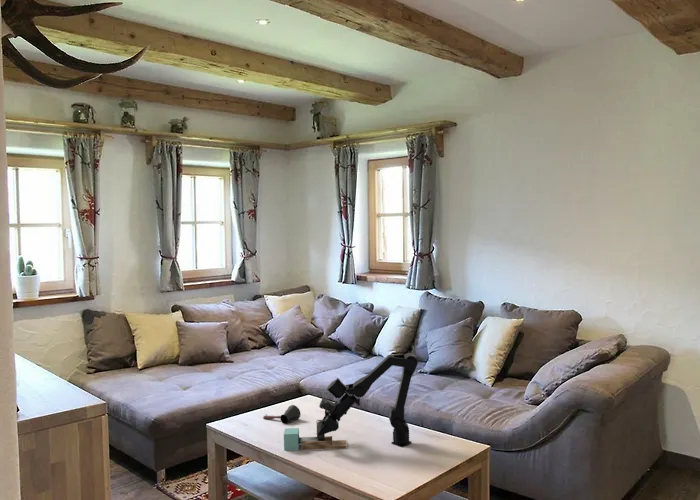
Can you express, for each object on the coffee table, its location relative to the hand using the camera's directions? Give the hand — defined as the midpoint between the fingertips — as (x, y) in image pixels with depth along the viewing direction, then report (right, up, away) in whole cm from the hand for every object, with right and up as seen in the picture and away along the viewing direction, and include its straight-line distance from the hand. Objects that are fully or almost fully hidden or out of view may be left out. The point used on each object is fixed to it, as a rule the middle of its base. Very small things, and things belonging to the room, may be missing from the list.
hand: (318, 431), depth 249 cm
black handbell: (-20, -6, +35) cm, 41 cm away
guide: (+2, -6, 0) cm, 7 cm away
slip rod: (-5, -5, 0) cm, 7 cm away
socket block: (-12, -7, 0) cm, 14 cm away
